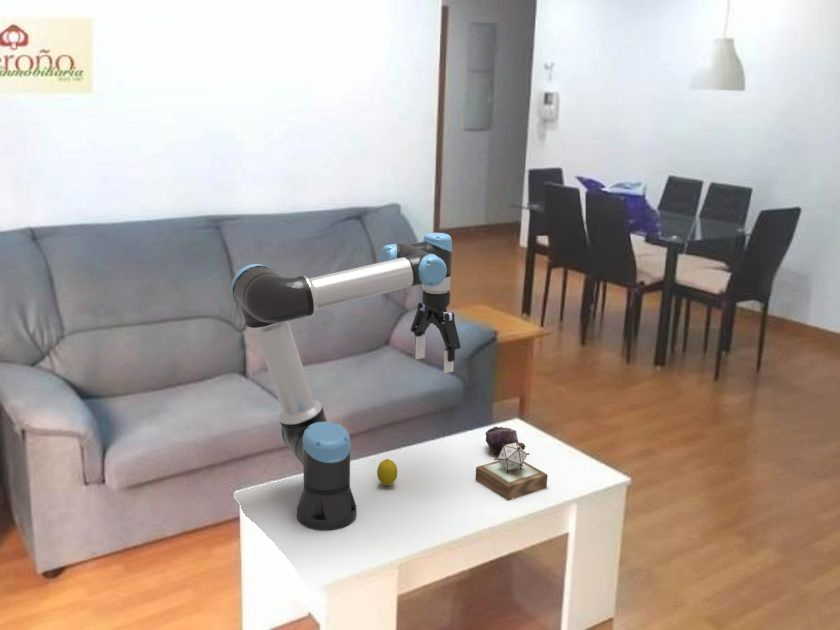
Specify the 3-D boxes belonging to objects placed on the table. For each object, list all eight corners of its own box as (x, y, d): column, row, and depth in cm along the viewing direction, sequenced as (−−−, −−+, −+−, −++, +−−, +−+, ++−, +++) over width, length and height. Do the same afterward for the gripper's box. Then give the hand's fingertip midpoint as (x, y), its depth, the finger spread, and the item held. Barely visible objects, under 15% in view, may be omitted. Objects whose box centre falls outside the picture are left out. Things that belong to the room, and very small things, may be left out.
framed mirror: (507, 500, 231) (508, 485, 230) (475, 480, 242) (476, 466, 241) (546, 487, 239) (547, 473, 237) (513, 468, 250) (514, 455, 248)
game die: (504, 483, 239) (483, 456, 237) (515, 462, 245) (495, 436, 243) (529, 477, 233) (508, 450, 231) (539, 456, 239) (519, 429, 237)
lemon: (385, 492, 233) (385, 465, 231) (372, 484, 237) (373, 458, 235) (401, 486, 237) (401, 460, 235) (388, 479, 241) (389, 453, 239)
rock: (500, 447, 267) (477, 455, 260) (499, 420, 265) (476, 427, 259) (529, 454, 258) (505, 463, 251) (527, 427, 257) (504, 434, 250)
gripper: (475, 299, 226) (472, 375, 231) (421, 279, 245) (419, 350, 251) (452, 302, 221) (449, 380, 227) (399, 282, 241) (398, 354, 247)
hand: (433, 365), depth 239 cm, fingers open, 13 cm apart
